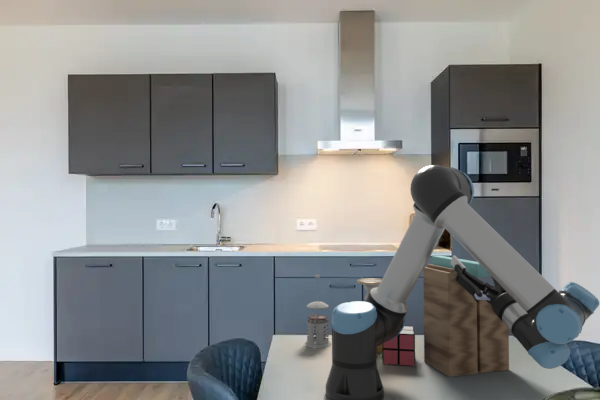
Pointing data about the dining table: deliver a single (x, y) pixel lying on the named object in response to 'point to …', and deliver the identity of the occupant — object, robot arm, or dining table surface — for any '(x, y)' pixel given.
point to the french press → (317, 325)
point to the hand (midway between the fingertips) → (465, 258)
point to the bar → (471, 266)
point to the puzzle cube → (400, 349)
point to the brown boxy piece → (460, 328)
